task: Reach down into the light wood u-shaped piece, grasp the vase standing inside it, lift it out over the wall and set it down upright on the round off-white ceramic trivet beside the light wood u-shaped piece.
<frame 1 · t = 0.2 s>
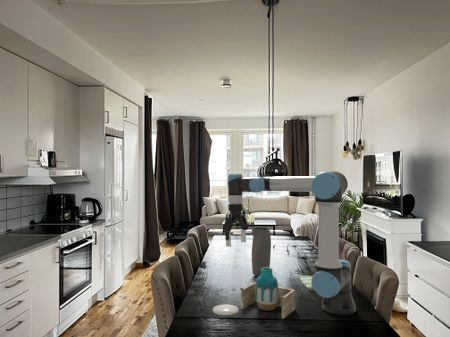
hand: (236, 244, 180), 28 cm above the table, fingers open, 13 cm apart
trivet: (225, 310, 163), on the table
light wood u-shaped piece: (267, 309, 164), on the table
vase: (267, 309, 164), on the table
dish towel: (317, 285, 201), on the table
vase 2: (261, 276, 218), on the table
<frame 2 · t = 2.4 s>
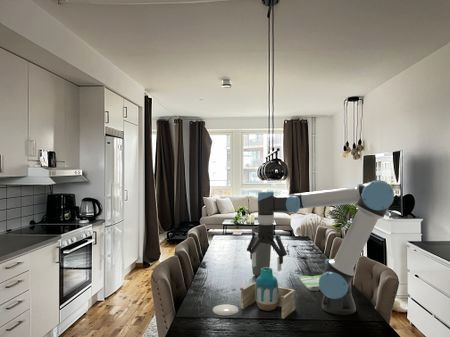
hand: (266, 268, 164), 19 cm above the table, fingers open, 13 cm apart
nothing on the table moved.
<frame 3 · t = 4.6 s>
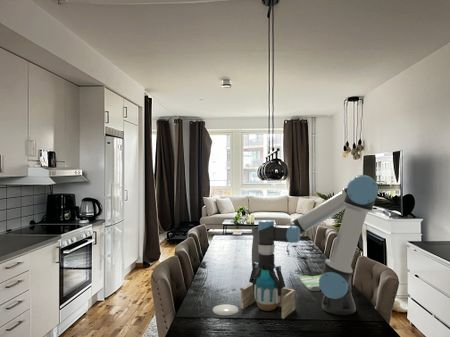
hand: (267, 300, 164), 4 cm above the table, fingers closed on vase, 10 cm apart
vase: (267, 309, 164), on the table, touching gripper
everything else where it was.
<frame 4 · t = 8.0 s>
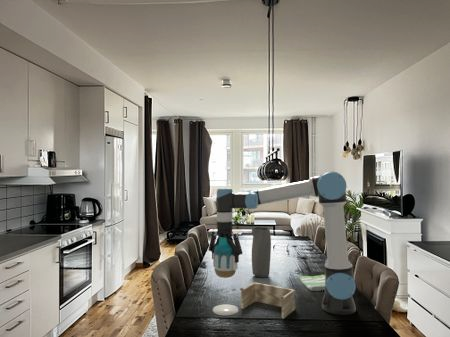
hand: (225, 267, 164), 20 cm above the table, fingers closed on vase, 10 cm apart
vase: (225, 277, 164), point 15 cm above the table, touching gripper
everything else where it was.
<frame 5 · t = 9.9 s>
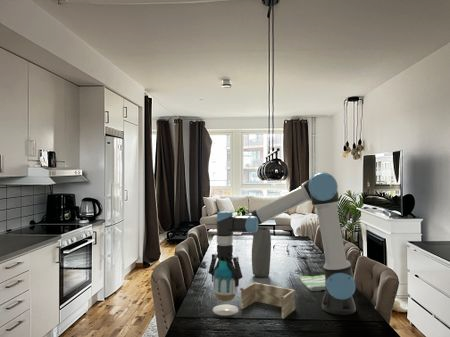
hand: (225, 291, 163), 9 cm above the table, fingers closed on vase, 10 cm apart
vase: (225, 300, 163), point 4 cm above the table, touching gripper
everything else where it was.
when the fingers open (6 cm above the table, at t = 11.5 s): vase drops 1 cm, resting on trivet.
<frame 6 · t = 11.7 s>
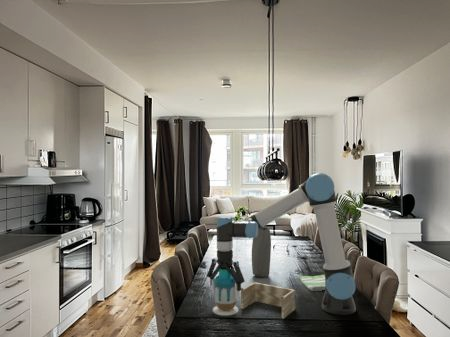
hand: (225, 295, 163), 7 cm above the table, fingers open, 13 cm apart
vase: (226, 309, 163), resting on trivet
everything else where it was.
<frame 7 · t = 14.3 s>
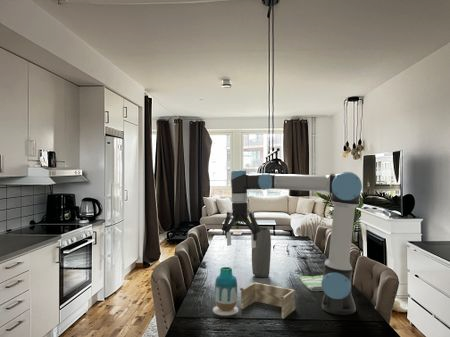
hand: (241, 246, 167), 29 cm above the table, fingers open, 13 cm apart
nothing on the table moved.
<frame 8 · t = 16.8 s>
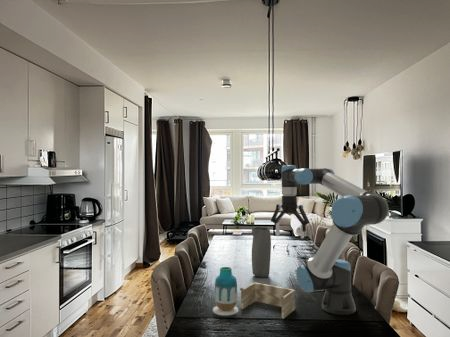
hand: (289, 236, 177), 32 cm above the table, fingers open, 13 cm apart
nothing on the table moved.
at the end: vase 0.3 cm from the trivet (horizontally); vase tilted 1°; the gripper is holding nothing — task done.
